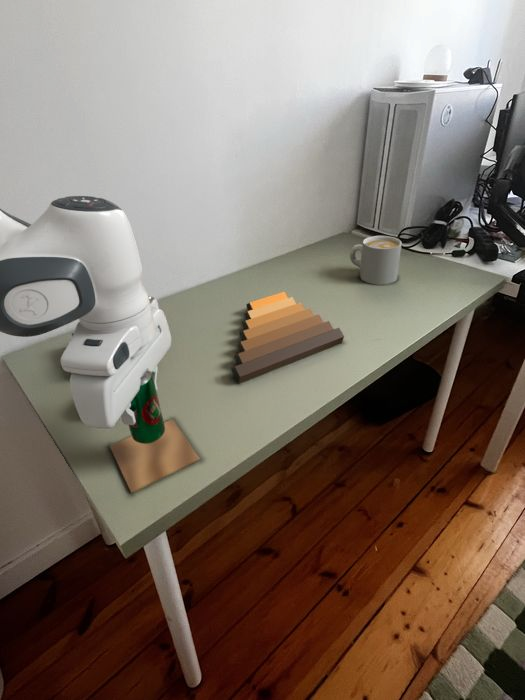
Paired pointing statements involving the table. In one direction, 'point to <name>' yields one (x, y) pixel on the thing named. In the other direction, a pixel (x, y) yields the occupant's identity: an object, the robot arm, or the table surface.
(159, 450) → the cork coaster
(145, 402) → the soda can
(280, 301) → the pan flute
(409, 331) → the table surface
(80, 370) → the robot arm
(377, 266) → the coffee mug
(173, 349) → the table surface
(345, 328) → the table surface
